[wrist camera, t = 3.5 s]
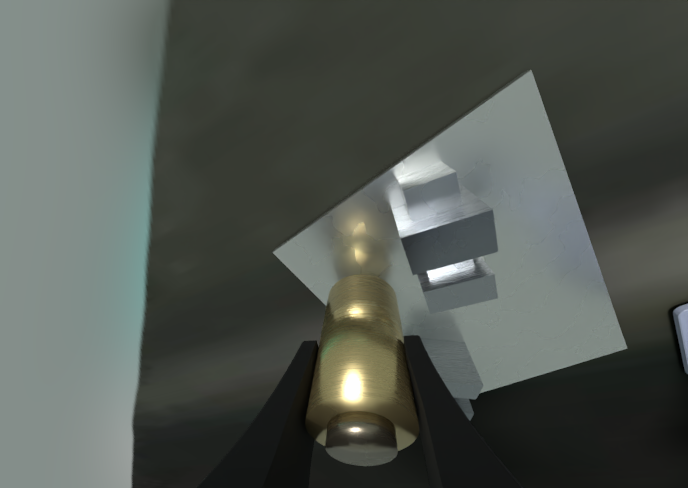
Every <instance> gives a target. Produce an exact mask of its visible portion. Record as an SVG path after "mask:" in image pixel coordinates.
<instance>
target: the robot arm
mask: <svg viewBox="0 0 688 488" xmlns="http://www.w3.org/2000/svg"><path fill="white" fill-rule="evenodd" d="M673 317H674V322H675V326H676V331H677V336H678V341H679V345H680V350H681V355H682V360H683V365H684V369H685V372H686V373H687V374H688V303H687V304H684V305H681V306H679V307H677V308H676V309H675V310H674V311H673ZM404 346H405V352H406V358H407V364H408V369H409V374H410V378H411V383H412V389H413V395H414V401H415V406H416V412H417V418H418V424H419V434H420V439H421V443H422V447H423V452H424V456H425V461H426V467H427V473H428V479H429V486H430V488H523V486H522V485H521V484H520V483H519V482H518V480H517V479H516V478H515V477H514V476H513V474H512V473H511V472H510V471H509V470H508V469H507V467H506V466H505V465H504V464H503V463H502V461H501V460H500V459H499V458H498V457H497V455H496V454H495V453H494V452H493V450H492V449H491V448H490V447H489V445H488V444H487V443H486V442H485V440H484V439H483V438H482V436H481V435H480V434H479V432H478V431H477V430H476V429H475V427H474V426H473V425H472V423H471V422H470V420H469V419H468V418H467V416H466V415H465V413H464V412H463V411H462V409H461V408H460V406H459V405H458V403H457V402H456V400H455V399H454V397H453V396H452V394H451V393H450V391H449V390H448V388H447V387H446V385H445V383H444V382H443V380H442V378H441V377H440V375H439V373H438V372H437V370H436V368H435V366H434V365H433V363H432V361H431V359H430V357H429V355H428V353H427V351H426V349H425V347H424V345H423V343H422V340H421V338H420V336H418V335H410V336H404ZM318 349H319V348H318V344H317V341H304V342H303V343H302V344H301V346H300V348H299V350H298V351H297V353H296V355H295V357H294V359H293V360H292V362H291V364H290V366H289V367H288V369H287V371H286V372H285V374H284V376H283V377H282V379H281V381H280V382H279V384H278V385H277V387H276V389H275V390H274V392H273V393H272V395H271V396H270V398H269V399H268V401H267V402H266V404H265V405H264V407H263V408H262V409H261V411H260V412H259V414H258V415H257V416H256V418H255V419H254V420H253V422H252V423H251V424H250V426H249V427H248V428H247V430H246V431H245V432H244V434H243V435H242V436H241V437H240V439H239V440H238V441H237V442H236V443H235V445H234V446H233V447H232V448H231V449H230V451H229V452H228V453H227V454H226V455H225V457H224V458H223V459H222V460H221V461H220V462H219V463H218V465H217V466H216V467H215V468H214V469H213V470H212V471H211V472H210V473H209V474H208V475H207V477H206V478H205V479H204V480H203V481H202V482H201V483H200V484H199V485H198V486H197V487H196V488H308V485H309V475H310V466H311V458H312V451H313V445H314V440H315V439H314V438H313V437H312V436H311V435H310V434H309V433H308V431H307V429H306V426H305V419H306V414H307V409H308V403H309V398H310V392H311V387H312V382H313V376H314V371H315V365H316V360H317V355H318Z"/></svg>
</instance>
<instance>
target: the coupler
mask: <svg viewBox="0 0 688 488" xmlns="http://www.w3.org/2000/svg"><path fill="white" fill-rule="evenodd" d="M305 426H306V429H307V431H308V433H309V434H310V435H311V436H312V437H313V438H314V439H315V440H316V441H317V442H319V443H321V444H322V445H324V446H325V449H326V451H327V452H328V454H329V455H330V456H332V457H333V458H335V459H337V460H339V461H341V462H344V463H348V464H352V465H359V466H374V465H381V464H384V463H387V462H389V461H391V460H393V459H394V458H395V457H396V456H397V453H398V451H399V450H402V449H404V448H406V447H408V446H409V445H411V444H412V443H413V442H414V441H415V440H416V438H417V437H418V434H419V424H418V418H417V412H416V406H415V401H414V395H413V389H412V383H411V378H410V374H409V369H408V364H407V358H406V352H405V346H404V337H403V331H402V325H401V319H400V314H399V308H398V302H397V297H396V293H395V291H394V289H393V288H392V287H391V286H390V285H389V284H388V283H387V282H386V281H384V280H383V279H381V278H379V277H376V276H373V275H368V274H356V275H350V276H347V277H345V278H343V279H341V280H339V281H338V282H337V283H335V284H334V286H333V287H332V288H331V290H330V292H329V295H328V301H327V306H326V311H325V317H324V322H323V328H322V333H321V338H320V344H319V349H318V355H317V360H316V365H315V371H314V376H313V382H312V387H311V392H310V398H309V403H308V409H307V414H306V419H305Z"/></svg>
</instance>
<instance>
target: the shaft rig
mask: <svg viewBox="0 0 688 488" xmlns="http://www.w3.org/2000/svg"><path fill="white" fill-rule="evenodd" d="M273 253H274V254H275V255H276V256H277V257H278V258H279V259H280V260H281V261H282V262H283V263H284V264H285V265H286V266H287V267H288V268H289V269H290V270H291V271H292V272H293V273H294V274H295V275H296V276H297V277H298V278H299V279H300V280H301V281H302V282H303V283H304V284H305V285H306V286H307V287H308V288H309V289H310V290H311V291H312V292H313V293H314V294H315V295H316V296H317V297H318V298H319V299H320V300H321V301H322V302H323V303H324V304H325V305H326V306H327V301H328V295H329V292H330V290H331V288H332V287H333V286H334V284H335V283H337V282H338V281H339V280H341V279H343V278H345V277H347V276H350V275H356V274H368V275H373V276H376V277H379V278H381V279H383V280H384V281H386V282H387V283H388V284H389V285H390V286H391V287H392V288H393V289H394V291H395V293H396V297H397V302H398V308H399V314H400V319H401V325H402V331H403V337H404V336H410V335H418V336H420V338H421V340H422V343H423V345H424V347H425V349H426V351H427V353H428V355H429V357H430V359H431V361H432V363H433V365H434V366H435V368H436V370H437V372H438V373H439V375H440V377H441V378H442V380H443V382H444V383H445V385H446V387H447V388H448V390H449V391H450V393H451V394H452V396H453V397H454V399H455V400H456V402H457V403H458V405H459V406H460V408H461V409H462V411H463V412H464V413H465V415H466V416H467V418H468V419H469V420H471V418H472V417H473V415H474V412H473V410H472V407H471V404H470V401H469V399H476V398H477V397H478V395H479V393H482V392H486V391H489V390H492V389H495V388H499V387H502V386H505V385H509V384H512V383H515V382H518V381H522V380H525V379H528V378H532V377H535V376H538V375H542V374H545V373H548V372H551V371H555V370H558V369H561V368H565V367H568V366H571V365H574V364H578V363H581V362H584V361H588V360H591V359H594V358H597V357H601V356H604V355H607V354H611V353H614V352H617V351H620V350H624V349H627V346H626V343H625V340H624V338H623V335H622V332H621V329H620V326H619V323H618V320H617V317H616V314H615V311H614V309H613V306H612V303H611V300H610V297H609V294H608V291H607V288H606V285H605V282H604V280H603V277H602V274H601V271H600V268H599V265H598V262H597V259H596V256H595V253H594V251H593V248H592V245H591V242H590V239H589V236H588V233H587V230H586V227H585V224H584V222H583V219H582V216H581V213H580V210H579V207H578V204H577V201H576V198H575V195H574V193H573V190H572V187H571V184H570V181H569V178H568V175H567V172H566V169H565V166H564V164H563V161H562V158H561V155H560V152H559V149H558V146H557V143H556V140H555V137H554V135H553V132H552V129H551V126H550V123H549V120H548V117H547V114H546V111H545V108H544V106H543V103H542V100H541V97H540V94H539V91H538V88H537V85H536V82H535V79H534V77H533V74H532V71H531V70H528V71H525V72H524V73H522V74H521V75H519V76H518V77H516V78H515V79H514V80H512V81H511V82H509V83H508V84H507V85H505V86H504V87H502V88H501V89H500V90H498V91H497V92H495V93H494V94H493V95H491V96H490V97H488V98H487V99H485V100H484V101H483V102H481V103H480V104H478V105H477V106H476V107H474V108H473V109H471V110H470V111H469V112H467V113H466V114H464V115H463V116H461V117H460V118H459V119H457V120H456V121H454V122H453V123H452V124H450V125H449V126H447V127H446V128H445V129H443V130H442V131H440V132H439V133H438V134H436V135H435V136H433V137H432V138H430V139H429V140H428V141H426V142H425V143H423V144H422V145H421V146H419V147H418V148H416V149H415V150H414V151H412V152H411V153H409V154H408V155H407V156H405V157H404V158H402V159H401V160H399V161H398V162H397V163H395V164H394V165H392V166H391V167H390V168H388V169H387V170H385V171H384V172H383V173H381V174H380V175H378V176H377V177H376V178H374V179H373V180H371V181H370V182H368V183H367V184H366V185H364V186H363V187H361V188H360V189H359V190H357V191H356V192H354V193H353V194H352V195H350V196H349V197H347V198H346V199H344V200H343V201H342V202H340V203H339V204H337V205H336V206H335V207H333V208H332V209H330V210H329V211H328V212H326V213H325V214H323V215H322V216H321V217H319V218H318V219H316V220H315V221H313V222H312V223H311V224H309V225H308V226H306V227H305V228H304V229H302V230H301V231H299V232H298V233H297V234H295V235H294V236H292V237H291V238H290V239H288V240H287V241H285V242H284V243H282V244H281V245H280V246H278V247H277V248H275V249H274V251H273Z"/></svg>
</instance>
